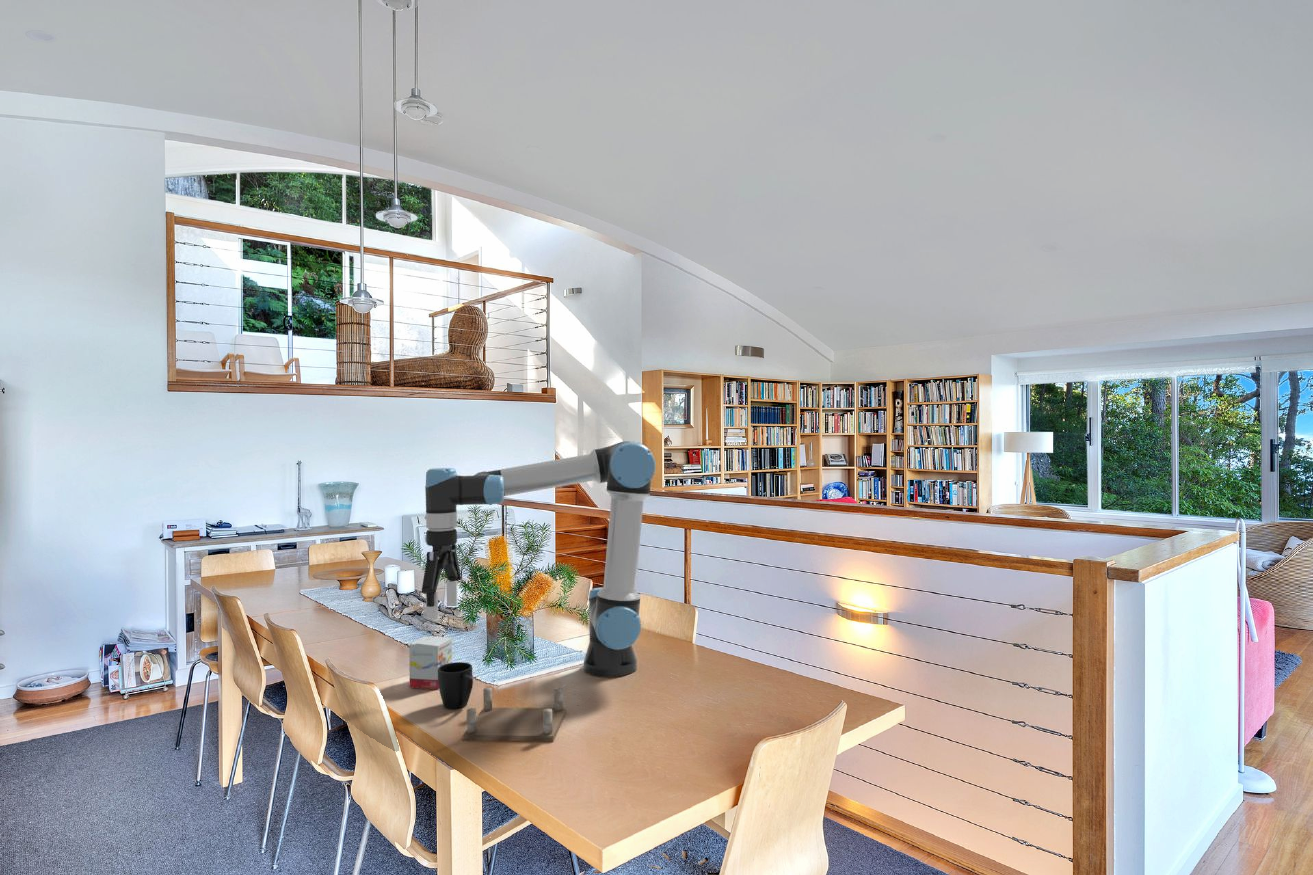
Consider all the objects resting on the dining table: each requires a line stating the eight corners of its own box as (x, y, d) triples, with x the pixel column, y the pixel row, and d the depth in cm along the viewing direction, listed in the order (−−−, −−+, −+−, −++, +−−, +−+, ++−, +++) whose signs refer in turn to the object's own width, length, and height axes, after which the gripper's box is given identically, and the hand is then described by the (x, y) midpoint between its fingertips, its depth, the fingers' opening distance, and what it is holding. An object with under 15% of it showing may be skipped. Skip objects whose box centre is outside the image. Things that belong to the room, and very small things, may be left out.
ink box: (438, 689, 193) (437, 645, 193) (408, 688, 195) (407, 643, 195) (453, 679, 202) (453, 636, 202) (424, 677, 204) (424, 634, 203)
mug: (453, 719, 174) (453, 678, 173) (432, 704, 183) (432, 666, 183) (485, 710, 179) (485, 671, 179) (463, 696, 188) (463, 659, 188)
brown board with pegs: (566, 713, 176) (565, 687, 176) (553, 741, 161) (553, 712, 160) (483, 712, 177) (483, 686, 177) (462, 740, 161) (462, 712, 161)
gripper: (445, 522, 200) (446, 600, 200) (406, 535, 175) (407, 624, 175) (472, 522, 199) (473, 600, 200) (437, 536, 174) (438, 625, 175)
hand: (442, 612), depth 187 cm, fingers open, 13 cm apart
